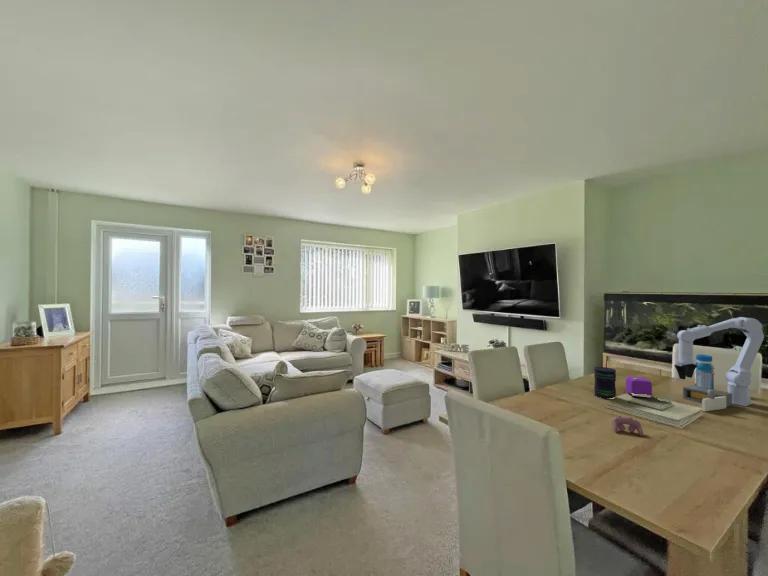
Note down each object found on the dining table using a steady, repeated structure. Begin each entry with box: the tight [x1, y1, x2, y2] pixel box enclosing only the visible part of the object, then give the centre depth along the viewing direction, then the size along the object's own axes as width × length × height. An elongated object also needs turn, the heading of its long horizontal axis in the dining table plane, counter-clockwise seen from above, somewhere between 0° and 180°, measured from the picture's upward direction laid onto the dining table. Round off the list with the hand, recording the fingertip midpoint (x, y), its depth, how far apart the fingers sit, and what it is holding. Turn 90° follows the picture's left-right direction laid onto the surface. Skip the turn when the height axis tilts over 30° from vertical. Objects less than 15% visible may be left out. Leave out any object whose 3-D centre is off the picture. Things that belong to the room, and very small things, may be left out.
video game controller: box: [611, 415, 644, 437], centre depth 134 cm, size 10×5×7 cm, turn 66°
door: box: [701, 389, 727, 412], centre depth 158 cm, size 2×16×10 cm, turn 106°
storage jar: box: [593, 366, 617, 399], centre depth 178 cm, size 10×10×15 cm
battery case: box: [682, 384, 733, 408], centre depth 171 cm, size 9×16×6 cm, turn 26°
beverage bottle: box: [694, 353, 715, 390], centre depth 191 cm, size 8×8×20 cm
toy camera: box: [625, 376, 653, 396], centre depth 181 cm, size 11×14×10 cm
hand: (685, 378), depth 177 cm, fingers open, 7 cm apart
